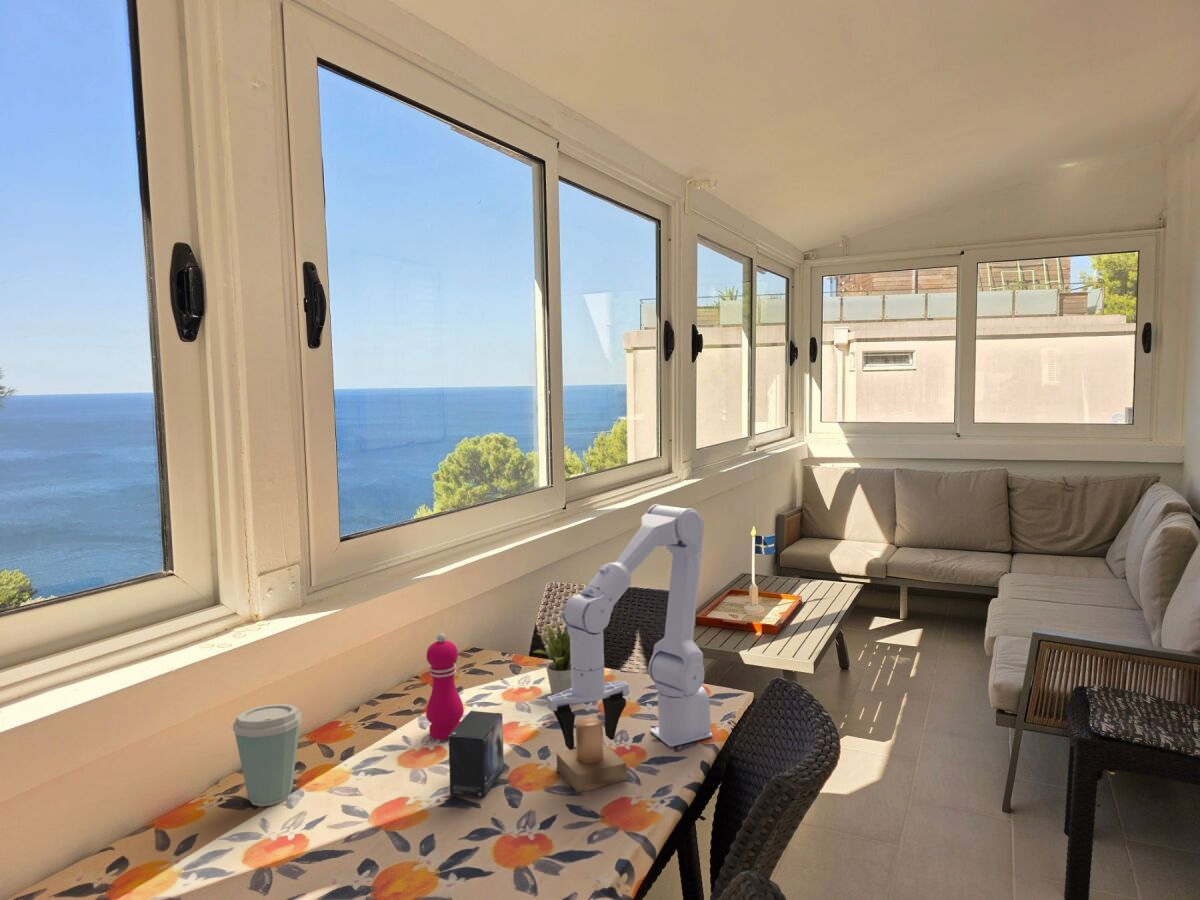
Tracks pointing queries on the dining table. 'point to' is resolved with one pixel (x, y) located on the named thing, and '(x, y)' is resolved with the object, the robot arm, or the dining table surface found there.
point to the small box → (476, 754)
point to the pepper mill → (443, 689)
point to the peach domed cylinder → (589, 740)
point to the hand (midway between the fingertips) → (590, 742)
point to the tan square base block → (591, 770)
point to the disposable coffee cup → (268, 751)
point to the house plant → (558, 660)
